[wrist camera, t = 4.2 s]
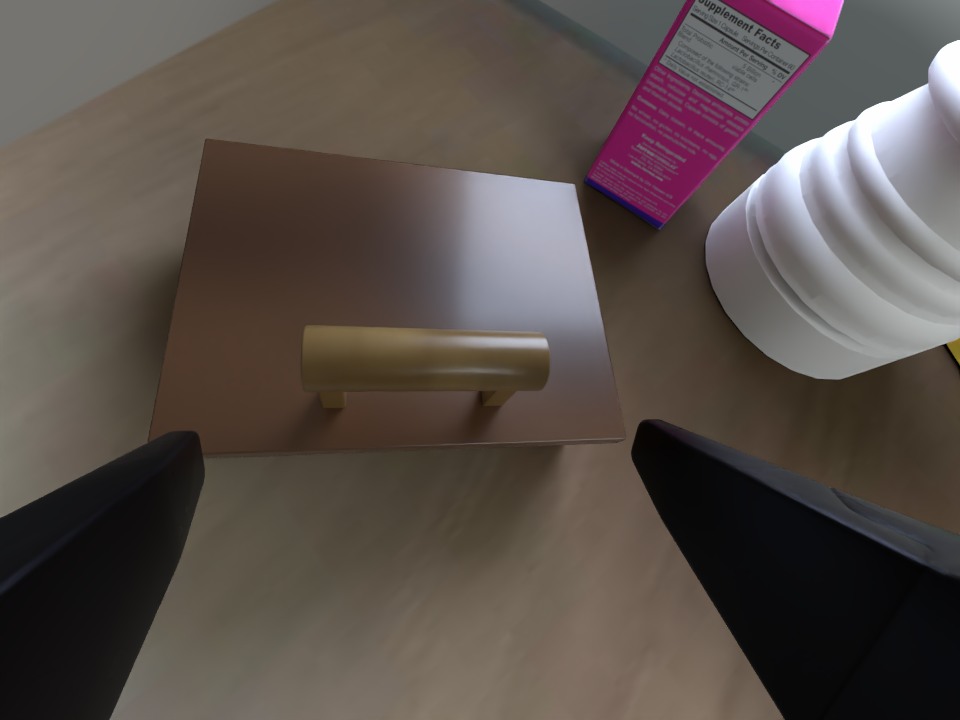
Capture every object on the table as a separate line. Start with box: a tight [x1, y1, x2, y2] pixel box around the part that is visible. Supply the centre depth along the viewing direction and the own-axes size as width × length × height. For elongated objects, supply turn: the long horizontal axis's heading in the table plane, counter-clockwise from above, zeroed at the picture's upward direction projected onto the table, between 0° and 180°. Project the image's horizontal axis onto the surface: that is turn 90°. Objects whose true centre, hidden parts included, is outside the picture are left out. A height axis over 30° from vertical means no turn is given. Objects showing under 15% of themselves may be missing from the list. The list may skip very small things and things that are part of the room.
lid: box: [147, 139, 626, 459], centre depth 14 cm, size 11×15×5 cm
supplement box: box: [584, 0, 844, 230], centre depth 23 cm, size 6×6×12 cm
